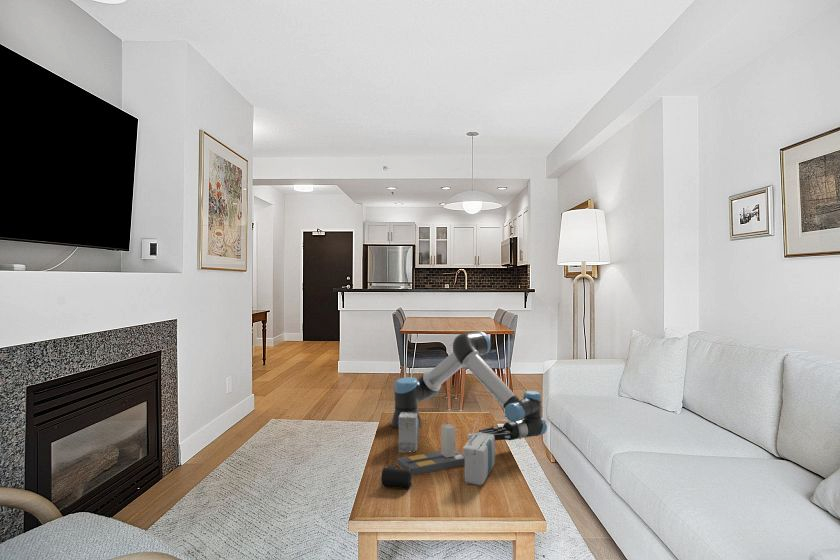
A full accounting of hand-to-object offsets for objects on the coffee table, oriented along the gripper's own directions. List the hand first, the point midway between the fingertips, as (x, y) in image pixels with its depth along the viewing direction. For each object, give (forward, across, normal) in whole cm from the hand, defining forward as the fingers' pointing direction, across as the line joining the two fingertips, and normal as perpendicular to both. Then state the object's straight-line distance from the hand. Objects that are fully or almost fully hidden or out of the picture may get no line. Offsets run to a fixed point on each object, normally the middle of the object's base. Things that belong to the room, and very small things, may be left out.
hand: (468, 438), depth 200 cm
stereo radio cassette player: (+5, -16, -9) cm, 19 cm away
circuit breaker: (+16, +24, -9) cm, 30 cm away
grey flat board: (+16, +1, -8) cm, 18 cm away
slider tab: (+9, +1, -6) cm, 11 cm away
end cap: (+37, -12, -9) cm, 40 cm away
